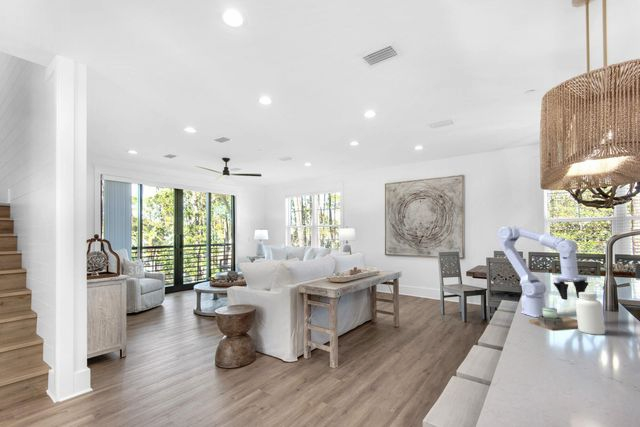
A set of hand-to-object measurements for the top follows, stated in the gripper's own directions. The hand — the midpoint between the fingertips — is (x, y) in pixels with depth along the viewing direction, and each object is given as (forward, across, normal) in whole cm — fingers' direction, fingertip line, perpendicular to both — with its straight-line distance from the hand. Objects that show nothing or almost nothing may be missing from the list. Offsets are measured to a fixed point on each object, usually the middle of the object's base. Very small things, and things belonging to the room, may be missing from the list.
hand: (572, 298), depth 135 cm
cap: (+7, -14, -3) cm, 16 cm away
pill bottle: (+10, -6, -13) cm, 18 cm away
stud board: (+10, -9, -2) cm, 14 cm away
